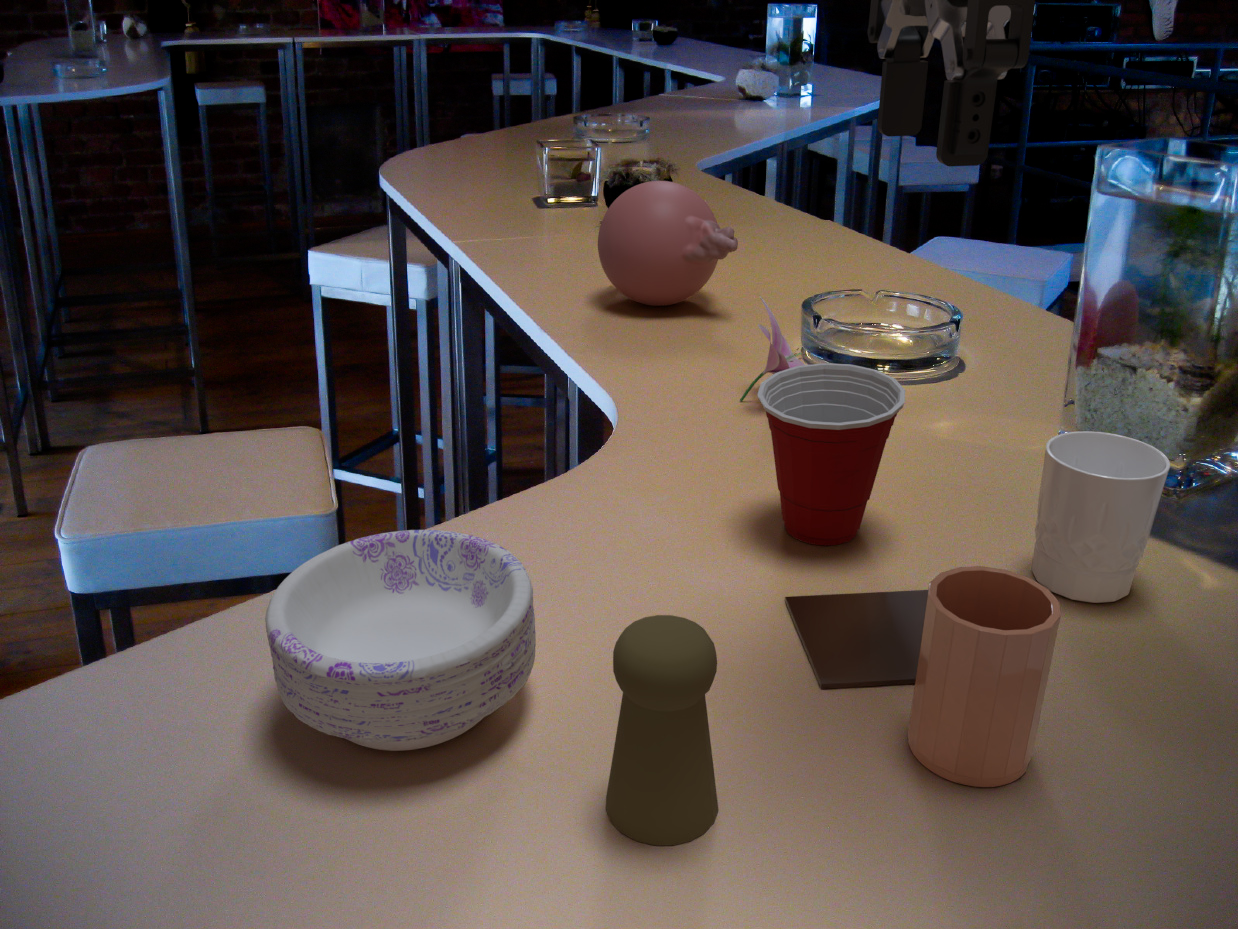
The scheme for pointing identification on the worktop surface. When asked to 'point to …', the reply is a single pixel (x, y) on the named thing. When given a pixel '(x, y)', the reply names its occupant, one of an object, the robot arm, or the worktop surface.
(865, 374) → the plastic cup
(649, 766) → the olive peg doll
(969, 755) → the peach cup
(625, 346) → the worktop surface
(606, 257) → the balloon
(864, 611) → the walnut mat
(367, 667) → the paper bowls
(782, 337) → the lily
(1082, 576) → the white cup
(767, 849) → the worktop surface
